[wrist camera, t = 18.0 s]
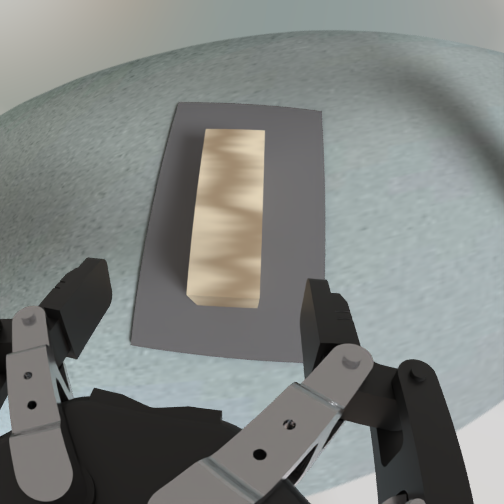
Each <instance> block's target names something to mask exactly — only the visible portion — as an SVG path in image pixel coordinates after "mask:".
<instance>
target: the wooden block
mask: <svg viewBox="0 0 504 504" xmlns="http://www.w3.org/2000/svg"><path fill="white" fill-rule="evenodd" d="M264 147H265V130H242V129H206V131H205V138H204V145H203V151H202V158H201V166H200V173H199V180H198V188H197V196H196V204H195V213H194V221H193V230H192V240H191V249H190V259H189V270H188V281H187V293H186V295H187V296H188V297H189V298H190V299H191V300H192V301H193V302H194V303H195V304H196V305H203V306H220V307H239V308H258V304H259V299H260V275H261V246H262V215H263V183H264Z"/></svg>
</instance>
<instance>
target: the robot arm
mask: <svg viewBox="0 0 504 504" xmlns="http://www.w3.org/2000/svg"><path fill="white" fill-rule="evenodd" d="M111 300H112V289H111V284H110V278H109V272H108V266H107V262H106V261H105V260H104V259H97V258H87V259H85V261H84V262H83V263H82V264H81V265H80V266H79V267H78V268H75V269H74V270H72V271H70V272H69V273H67V274H66V275H65V276H64V277H63V278H62V279H61V280H60V282H59V283H58V284H57V285H56V286H55V288H53V289H52V291H51V292H50V293H49V294H48V295H47V296H46V298H45V299H44V300H43V301H42V302H41V303H40V305H39V306H29V307H25V308H23V309H21V310H20V311H18V312H17V313H16V314H15V315H14V317H13V319H0V409H1V407H2V405H3V403H4V401H5V399H6V397H7V396H8V400H9V410H10V419H11V426H12V430H11V431H10V432H8V433H6V434H4V435H2V436H0V504H310V503H309V502H308V500H307V499H306V498H305V497H304V496H303V495H302V494H301V493H300V492H299V491H298V489H297V488H296V487H295V486H296V485H297V484H298V483H299V481H300V480H301V479H302V478H303V477H304V476H305V474H306V473H307V472H308V471H309V469H310V468H311V467H312V465H313V464H314V463H315V461H316V460H317V458H318V457H319V456H320V454H321V453H322V452H323V450H324V449H325V448H326V447H327V445H328V444H329V443H330V442H331V440H332V439H333V438H334V436H335V435H336V434H337V432H338V431H339V430H340V428H341V427H342V426H343V424H344V423H345V422H346V421H350V422H354V423H358V424H362V425H367V426H370V431H371V438H372V446H373V454H374V463H375V472H376V481H377V492H378V504H474V503H473V498H472V493H471V489H470V484H469V480H468V476H467V472H466V468H465V464H464V461H463V456H462V453H461V449H460V446H459V442H458V439H457V436H456V432H455V429H454V426H453V422H452V419H451V416H450V413H449V410H448V407H447V404H446V401H445V398H444V395H443V392H442V389H441V387H440V384H439V381H438V378H437V376H436V373H435V371H434V370H433V369H432V368H431V367H430V366H429V365H428V364H426V363H425V362H422V361H420V360H414V359H411V360H406V361H404V362H402V363H401V364H400V365H399V367H398V369H396V368H392V367H388V366H384V365H380V364H378V363H375V362H374V361H373V358H372V356H371V354H370V353H369V352H368V351H367V350H366V349H364V348H363V347H361V346H360V343H359V339H358V336H357V332H356V329H355V326H354V323H353V320H352V316H351V313H350V310H349V306H348V303H347V301H346V300H345V299H344V298H343V297H342V296H341V295H340V294H339V293H331V292H330V288H329V285H328V281H327V280H324V279H310V278H308V279H307V281H306V286H305V291H304V297H303V302H302V307H301V313H300V334H301V344H302V354H303V365H304V376H305V380H304V381H303V382H302V383H301V384H299V383H297V382H294V383H292V384H291V385H290V386H288V387H287V388H286V389H285V390H284V391H283V392H282V393H281V394H280V395H279V396H278V397H277V398H276V399H275V400H274V401H273V402H272V403H271V404H270V405H269V406H268V407H267V408H265V409H264V410H263V411H262V412H261V413H260V414H259V415H258V416H257V417H256V418H255V419H254V420H252V421H251V422H250V423H249V424H248V425H247V426H246V427H245V428H244V429H241V428H239V427H237V426H235V425H233V424H231V423H228V422H226V421H223V420H222V411H220V410H212V409H203V408H196V407H189V406H187V407H167V408H152V407H149V406H146V405H144V404H142V403H140V402H137V401H135V400H133V399H131V398H129V397H127V396H125V395H123V394H118V393H114V392H110V391H105V390H101V389H97V388H94V389H93V391H92V393H91V395H90V396H87V397H78V398H74V396H73V393H72V389H71V385H70V382H69V378H68V374H67V369H66V366H65V363H64V359H65V358H66V357H69V358H73V359H78V357H79V355H80V354H81V352H82V350H83V349H84V347H85V345H86V344H87V342H88V340H89V339H90V337H91V335H92V334H93V332H94V330H95V329H96V327H97V325H98V324H99V322H100V321H101V319H102V317H103V316H104V314H105V313H106V311H107V309H108V308H109V306H110V304H111Z"/></svg>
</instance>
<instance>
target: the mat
mask: <svg viewBox="0 0 504 504" xmlns="http://www.w3.org/2000/svg"><path fill="white" fill-rule="evenodd" d="M206 129H242V130H265V147H264V183H263V215H262V246H261V275H260V299H259V304H258V308H239V307H220V306H203V305H196V304H195V303H194V302H193V301H192V300H191V299H190V298H189V297H188V296H187V295H186V293H187V281H188V270H189V259H190V249H191V240H192V230H193V221H194V213H195V204H196V196H197V188H198V180H199V173H200V166H201V158H202V151H203V145H204V138H205V131H206ZM308 278H310V279H324V280H325V177H324V148H323V128H322V111H315V110H307V109H299V108H289V107H279V106H267V105H253V104H235V103H203V102H179V103H178V106H177V110H176V113H175V117H174V120H173V124H172V128H171V131H170V135H169V139H168V142H167V146H166V150H165V154H164V158H163V162H162V166H161V170H160V175H159V179H158V183H157V188H156V192H155V197H154V201H153V206H152V211H151V216H150V221H149V226H148V231H147V236H146V242H145V247H144V253H143V258H142V264H141V271H140V277H139V283H138V290H137V297H136V304H135V312H134V320H133V328H132V337H131V345H133V346H139V347H145V348H152V349H159V350H165V351H173V352H180V353H188V354H196V355H205V356H214V357H224V358H235V359H247V360H260V361H275V362H295V363H303V354H302V344H301V334H300V313H301V307H302V302H303V297H304V291H305V286H306V281H307V279H308Z"/></svg>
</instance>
